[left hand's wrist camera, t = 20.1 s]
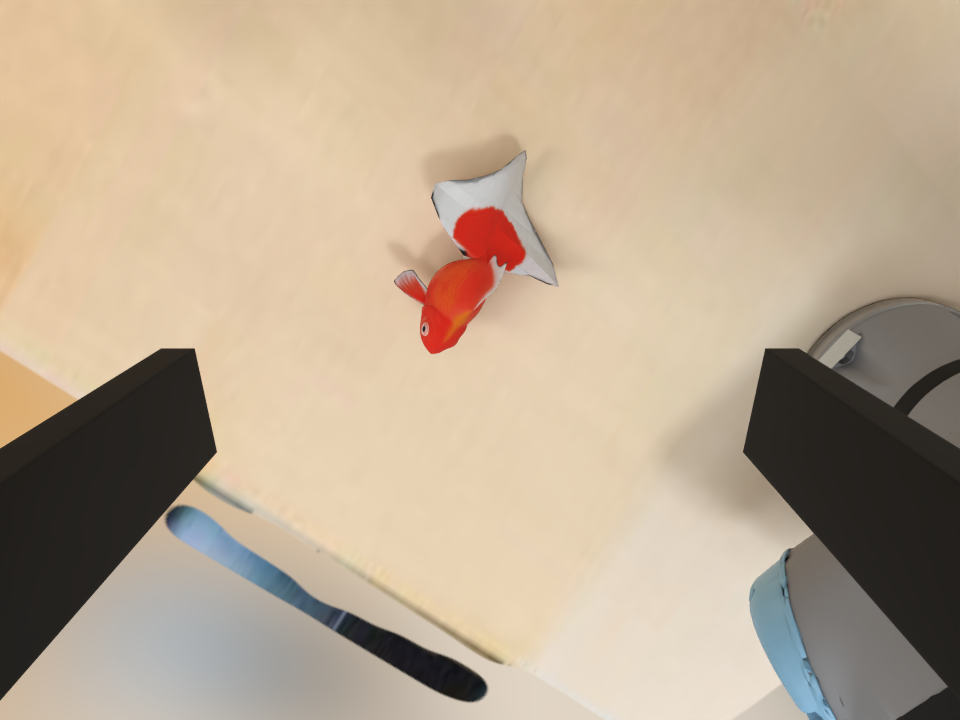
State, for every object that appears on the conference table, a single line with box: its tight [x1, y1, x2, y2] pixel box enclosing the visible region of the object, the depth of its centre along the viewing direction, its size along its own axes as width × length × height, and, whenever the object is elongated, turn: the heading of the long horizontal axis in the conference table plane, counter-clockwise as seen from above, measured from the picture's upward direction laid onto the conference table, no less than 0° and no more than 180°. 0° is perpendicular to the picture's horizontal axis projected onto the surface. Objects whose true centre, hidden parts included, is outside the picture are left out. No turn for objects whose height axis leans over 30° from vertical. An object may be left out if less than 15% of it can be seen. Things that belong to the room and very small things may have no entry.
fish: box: [394, 151, 559, 354], centre depth 39 cm, size 11×16×10 cm
